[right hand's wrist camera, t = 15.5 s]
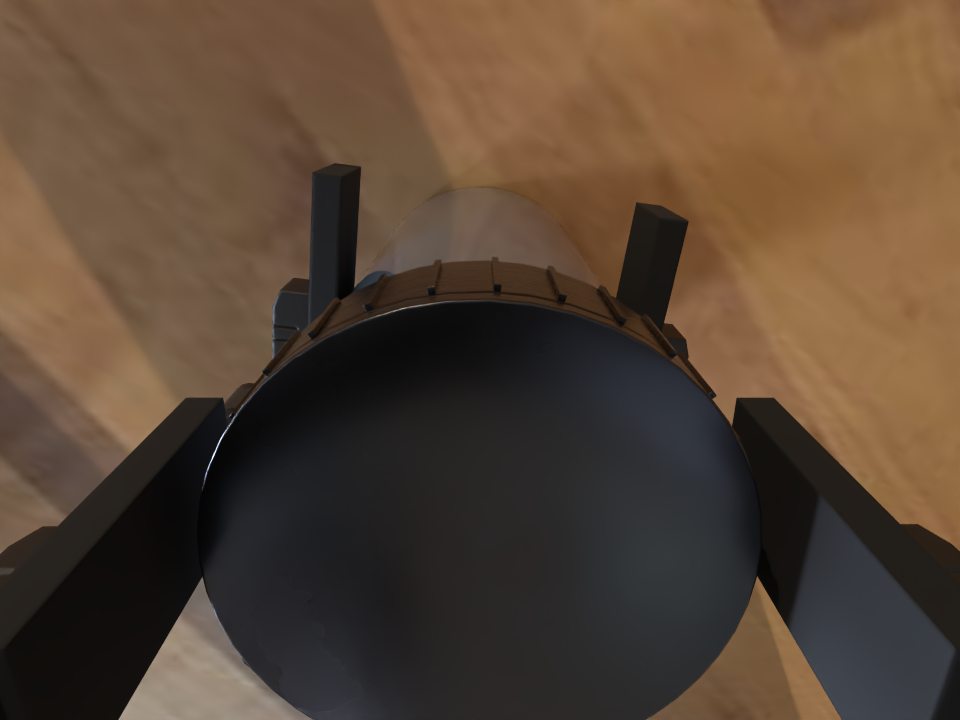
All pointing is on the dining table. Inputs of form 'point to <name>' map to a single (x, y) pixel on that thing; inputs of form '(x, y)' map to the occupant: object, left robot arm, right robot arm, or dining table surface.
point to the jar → (479, 236)
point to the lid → (479, 506)
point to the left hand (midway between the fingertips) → (501, 191)
